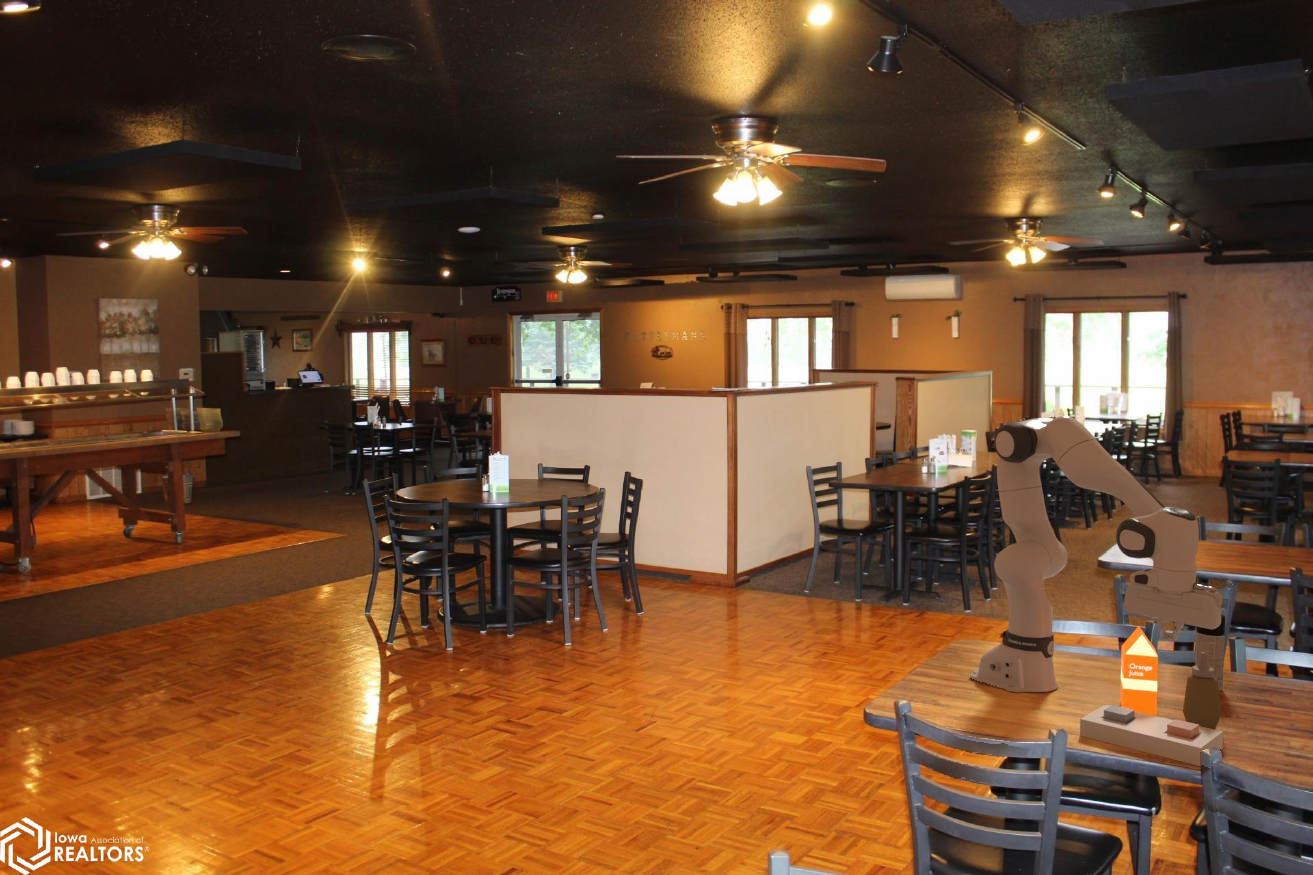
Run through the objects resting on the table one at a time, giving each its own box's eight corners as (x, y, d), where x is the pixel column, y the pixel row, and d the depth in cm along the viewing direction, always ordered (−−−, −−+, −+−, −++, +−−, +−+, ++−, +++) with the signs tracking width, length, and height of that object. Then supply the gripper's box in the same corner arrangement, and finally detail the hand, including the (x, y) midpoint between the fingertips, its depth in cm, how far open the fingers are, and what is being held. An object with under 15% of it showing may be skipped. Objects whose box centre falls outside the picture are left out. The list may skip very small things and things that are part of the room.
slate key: (1103, 726, 241) (1103, 709, 241) (1112, 721, 244) (1112, 704, 244) (1125, 732, 237) (1125, 715, 237) (1134, 726, 241) (1134, 709, 241)
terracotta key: (1166, 742, 231) (1167, 724, 231) (1174, 736, 234) (1175, 719, 234) (1190, 748, 227) (1191, 730, 227) (1198, 742, 231) (1199, 724, 231)
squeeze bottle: (1174, 722, 249) (1177, 648, 247) (1207, 721, 249) (1209, 647, 248) (1195, 734, 241) (1197, 658, 239) (1228, 733, 241) (1230, 657, 240)
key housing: (1079, 735, 240) (1080, 718, 240) (1105, 720, 250) (1105, 704, 250) (1200, 766, 222) (1200, 747, 222) (1222, 748, 232) (1222, 731, 231)
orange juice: (1122, 712, 256) (1124, 632, 255) (1119, 701, 265) (1121, 623, 263) (1157, 715, 254) (1159, 635, 252) (1153, 704, 262) (1155, 626, 261)
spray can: (1216, 684, 277) (1218, 610, 276) (1227, 692, 271) (1230, 617, 269) (1190, 684, 278) (1192, 610, 277) (1200, 692, 271) (1203, 616, 270)
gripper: (1228, 586, 230) (1223, 647, 232) (1134, 569, 245) (1130, 627, 246) (1218, 591, 226) (1213, 652, 227) (1123, 573, 240) (1119, 632, 242)
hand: (1169, 639), depth 237 cm, fingers closed
